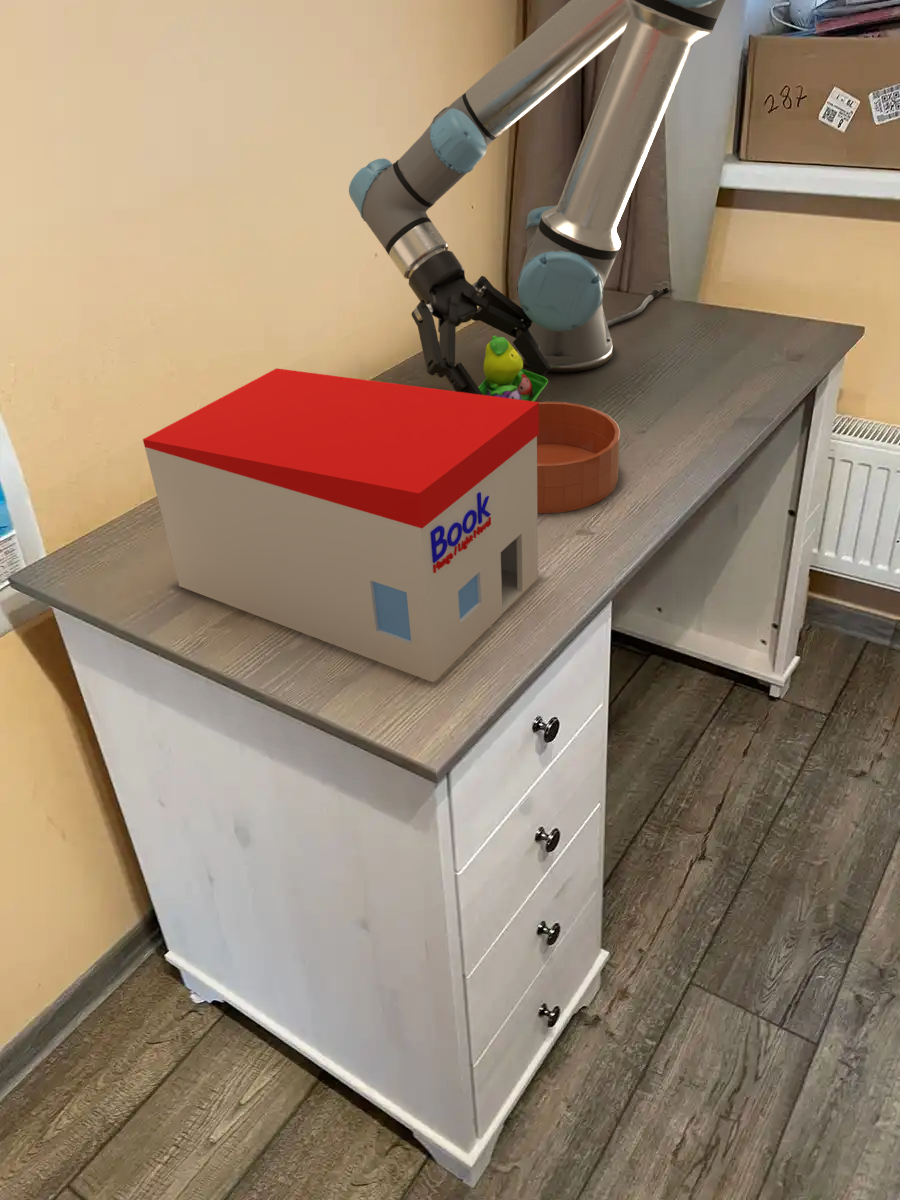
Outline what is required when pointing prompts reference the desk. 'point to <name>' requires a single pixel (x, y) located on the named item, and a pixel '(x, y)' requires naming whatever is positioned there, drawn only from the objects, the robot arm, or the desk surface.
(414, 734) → the desk surface
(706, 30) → the robot arm
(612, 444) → the pot
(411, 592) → the bookstore
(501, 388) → the fruit basket
